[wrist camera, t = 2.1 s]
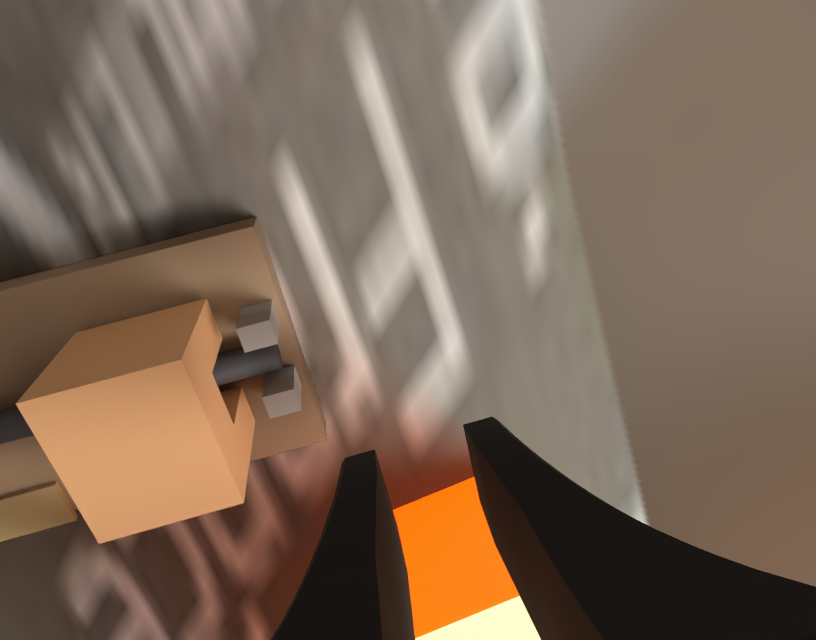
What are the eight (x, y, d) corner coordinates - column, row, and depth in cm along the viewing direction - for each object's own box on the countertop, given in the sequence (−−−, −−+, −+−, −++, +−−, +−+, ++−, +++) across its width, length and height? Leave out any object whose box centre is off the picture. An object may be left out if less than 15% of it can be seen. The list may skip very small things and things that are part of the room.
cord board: (327, 428, 22) (333, 525, 18) (-132, 555, 21) (-255, 694, 17) (253, 207, 19) (236, 256, 14) (-303, 349, 18) (-522, 452, 13)
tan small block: (255, 421, 20) (244, 502, 16) (137, 453, 20) (98, 543, 16) (206, 298, 18) (181, 359, 14) (75, 332, 18) (15, 403, 14)
